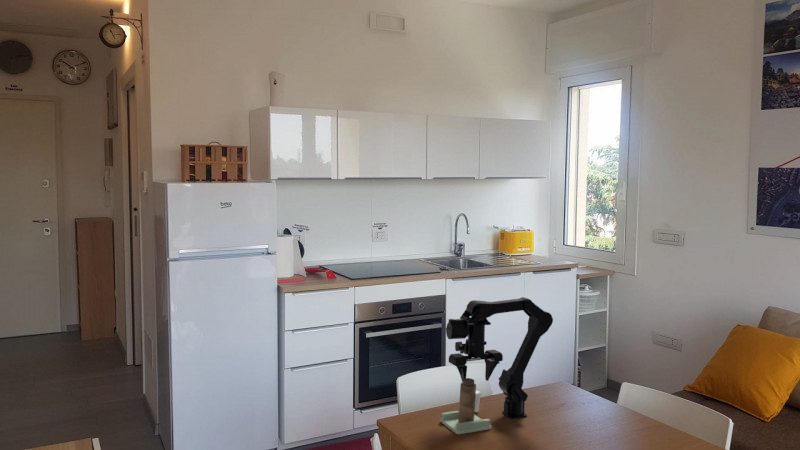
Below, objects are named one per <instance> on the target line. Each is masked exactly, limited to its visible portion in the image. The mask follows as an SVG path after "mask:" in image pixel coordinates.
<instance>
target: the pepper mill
mask: <svg viewBox="0 0 800 450" xmlns="http://www.w3.org/2000/svg"><path fill="white" fill-rule="evenodd" d="M459 389H460V390H459V405H458V411H459V419H458V422H459V423H464V422H470V421H474V415H475V413H474V411H475V396H476V389H477V384H476V383H475V379H473V378H469V377H466V378H465V379H463V382H461V383H460V388H459Z"/></svg>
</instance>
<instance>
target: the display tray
mask: <svg viewBox="0 0 800 450" xmlns="http://www.w3.org/2000/svg"><path fill="white" fill-rule="evenodd" d="M458 419H459V410H454V411H447V412H446V411H445V412H441V418H440V421H441V422H442V423H441V422H440V421H439V422H440V423H441V424H443V425H444V426H445V427H447V428H448V429H449V430H451V432H453V433H454V434H456V435H463V434H469V433H475V432H480V431H487V430H492V427H493V426H492V425H491V419H489V418H484V419H482V418H480V416H479V417H478V416H477V415H476V414H474V421H470V422H464V423H459V422H458Z"/></svg>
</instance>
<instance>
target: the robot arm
mask: <svg viewBox="0 0 800 450" xmlns="http://www.w3.org/2000/svg"><path fill="white" fill-rule="evenodd" d="M518 311H519V312H520V311H523V312H524V314H526V315H527V317H528V321H527V332H526V334H525V336H524V338H523V340H522V343H521V345H520V347H519V348H518V349H519V350H518V351H517V352H516V353H517V354H516V355H515V357H514V360H513V361H512V365H511V366H510V368H508V369H507V370H506V369H504V368H503V369H502V372H501V374H500V377H498V386H499V389H500V390H501V391H502V393H503V395H504V396H505V397H504V401H503V410H502V411H501V413H502V414H503V415H505V416H506V417H508V418H510V419H517V418H518V419H519V418H525V417H528V414H527V413H525V402H526V401H527V399H528V396H529V395H528V394H527V393H526V392H525V391H524V390H523V386H524V374H525V372H526V369H527V367H528V365H529V362H530V361H531V358H532V356H533V354H534V352H535V350H536V347H537V345H538V343H539V340H540V339H541V337H542V336H543V335H545V334H546V333H547V332H548V331H549V329H550V327H551V326H552V324H553V323H554V317H553V315H552V314H551V313H550V312H548V311H546V310H544V309H542V308H541V307H539V306H538V305H537V304H535V303H534V302H533V301H532V299H530V298H527V297H525V296H524V297H520V298H512V299H507V300H506V299H504V300H497V301H486V300H470V301H468V303H467V305H466V308H465V310H464V311H463V313H462V314H461V315H460V317H459V318H456V319H455V318H449V319H448V322H447V324H446V328H445V334H446V337H447V339H448V340H460V339H461V340H462V339H463V340H464V339H465V343H463V342H462V341H456V342H454V344H455V345H454V348H455V352H459V353H451V354H449V356H448V363H449V364H452V366H454V367H456V369H457V370H458V373H459V375H460V379H461V383H463V379H465V378H467V371H468V365H466V364H467V362H472V361H473V362H474V361H483V360H484V363H485V372H484V373H485V375H484V376H485V381H487V382H489V380H490V378H491V376H492V374H493V372H494V370H495V368H496V367H497V366H498V365H499V364H500V362H503V360H504V359H503V358H504V355H503V353H502V352H501V351H498V350H496V349H488V350H486V349H485V345H487V341H486V340H485V337H486V336H485V335H486V334H485V333H486V332H485V331H486V329H485V328H486V326H489V325H491V324H492V323H491V322H490V321H489V320H488V319H487V318H490V317H492V316H493V315H497V314H504V313H513V312H518Z"/></svg>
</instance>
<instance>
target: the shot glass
mask: <svg viewBox="0 0 800 450" xmlns="http://www.w3.org/2000/svg"><path fill="white" fill-rule="evenodd" d="M481 393H482V392H481V390H479V389H477V388H476V396H475V411H474V412H476V413H478V412H479V411H480V401H481Z"/></svg>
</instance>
